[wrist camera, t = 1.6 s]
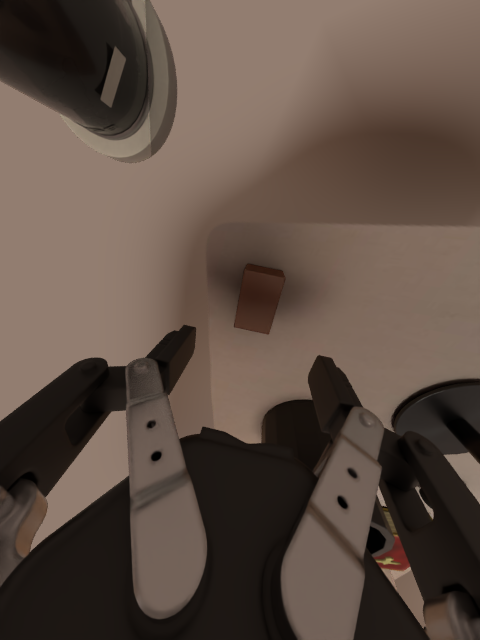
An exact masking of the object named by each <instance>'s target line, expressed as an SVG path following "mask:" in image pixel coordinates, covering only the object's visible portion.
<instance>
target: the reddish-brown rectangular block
mask: <svg viewBox="0 0 480 640" xmlns="http://www.w3.org/2000/svg"><path fill="white" fill-rule="evenodd" d="M284 282H285V276H284V273H283V271H280V270H275V269H271V268H266V267H261V266H256V265H251V264H247V265H246V267H245V270H244V274H243V280H242V285H241V290H240V296H239V301H238V307H237V312H236V318H235V323H234V327H236V328H241V329H246V330H250V331H255V332H260V333H264V334H269V332H270V329H271V325H272V322H273V319H274V315H275V312H276V309H277V305H278V302H279V298H280V295H281V292H282V288H283V285H284Z"/></svg>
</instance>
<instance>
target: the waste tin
mask: <svg viewBox="0 0 480 640" xmlns="http://www.w3.org/2000/svg"><path fill="white" fill-rule="evenodd" d="M330 439H331V435H330V434H329V433H324V432H321V428H320V424H319V421H318V417H317V413H316V410H315V406H314V402H313V401H311V400H295V401H289V402H285V403H282V404H280V405H277V406H276V407H274V408H272V409H271V410H270V411H269V412H268V413H267V414H266V415H265V417H264V419H263V425H262V442H261V443H273V444H277V445H281V446H286V447H290V448H293V451H294V457H295V458H297V459H298V460H300V461H301V462H302V463H304V464H305V465H306V466H307V467H308V468H309V469H310V470H311V471H313V470H314V468H315V466H316V465H317V463H318V461H319V459H320V457H321V455H322V453H323V451H324V450H325V448H326V446H327V444H328V442H329V440H330ZM394 542H395V538H394V535H393V533H392V530H391V528H390V525H389V523H388V521H387V518H386V516H385V513H384V511H383V509H382V506H381V504H380V501H379V499H378V497H377V494H376V499H375V504H374V509H373V514H372V518H371V523H370V528H369V533H368V538H367V542H366V548H367V549H368V550H369V552H370V553H371V555H372V556H373V557H377V556H380V555H382V554H384V553H386V552H388V551H390V550H392V547H393V545H394Z"/></svg>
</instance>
